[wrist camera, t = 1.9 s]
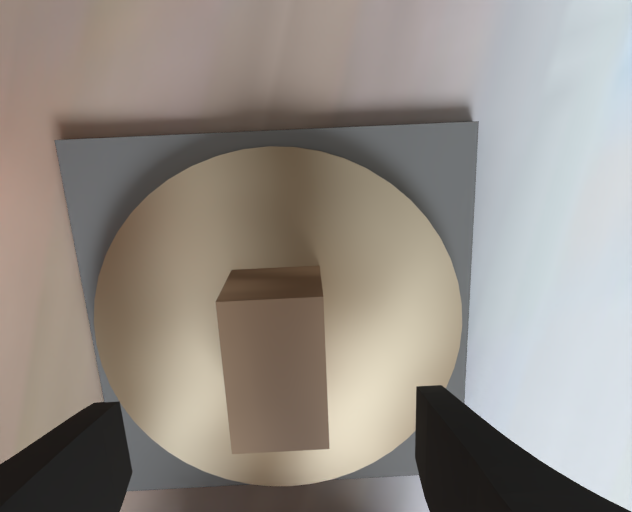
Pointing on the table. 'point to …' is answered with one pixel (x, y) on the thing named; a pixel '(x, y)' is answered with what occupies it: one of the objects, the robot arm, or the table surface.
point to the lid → (276, 315)
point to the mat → (190, 149)
